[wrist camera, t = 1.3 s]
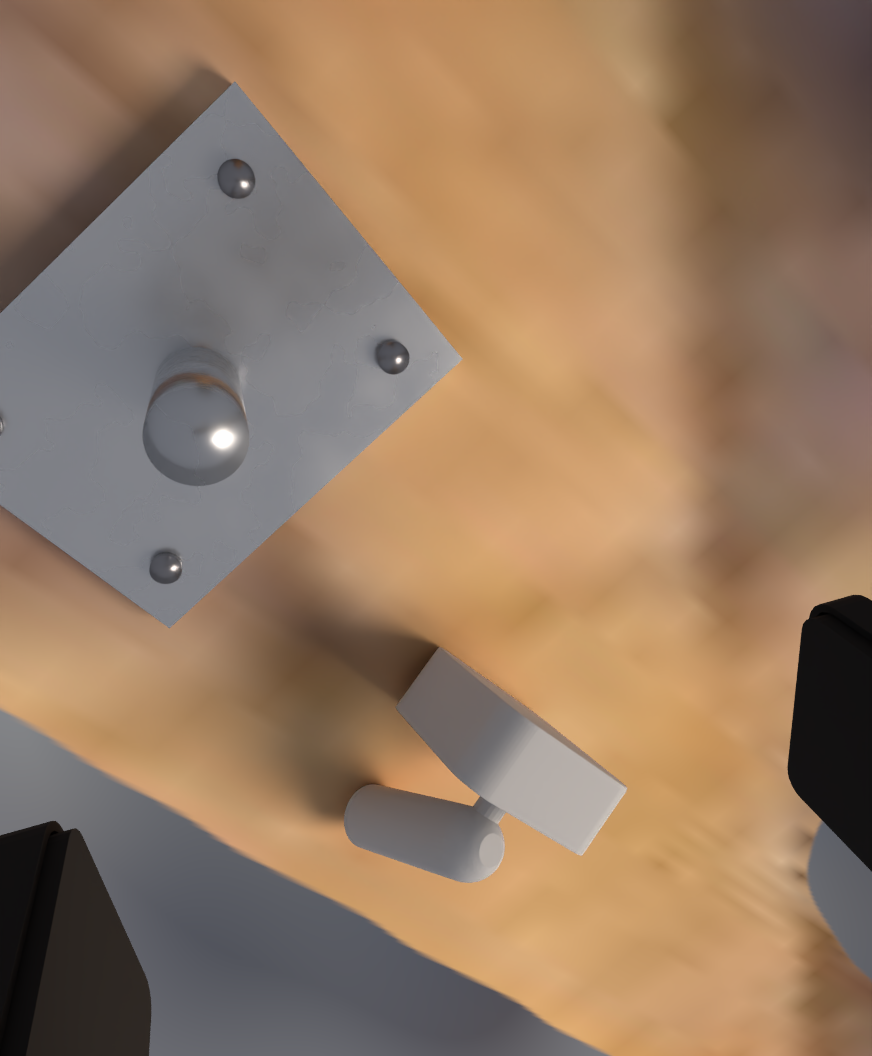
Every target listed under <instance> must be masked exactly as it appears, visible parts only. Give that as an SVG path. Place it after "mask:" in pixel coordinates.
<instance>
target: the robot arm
mask: <svg viewBox="0 0 872 1056" xmlns="http://www.w3.org/2000/svg"><path fill="white" fill-rule="evenodd" d="M788 775H789V779H790V782H791V784H792V786H793V788H794V790H795V791H796V793H797V794H798V795H799V796H800V798H801V799H802V800H803V801H804V802H805V803H806V804H807V805H808V806H809V807H810V808H811V809H812V810H813V811H814V812H815V813H816V814H817V815H818V816H819V817H820V818H821V819H822V820H823V821H824V822H825V823H826V825H827V826H828V827H829V828H830V829H831V830H832V831H833V832H834V833H835V834H836V835H837V836H838V837H839V838H840V839H841V840H842V841H843V842H844V843H845V844H846V845H847V846H848V847H849V848H850V849H851V850H852V852H853V853H854V854H855V855H856V856H857V857H858V858H859V859H860V860H861V861H862V862H863V863H864V864H865V865H866V866H867V867H868V868H869V869H870V870H871V871H872V601H871V600H870V599H868V598H866V597H864V596H861V595H851V596H848V597H844V598H841V599H837V600H834V601H830V602H827V603H823V604H820V605H817V606H815V607H814V608H813V610H812V611H811V613H810V617H809V619H808V620H806V621H805V622H804V624H803V627H802V633H801V643H800V652H799V662H798V672H797V681H796V691H795V701H794V710H793V720H792V730H791V739H790V749H789V759H788ZM150 1026H151V997H150V990H149V986H148V981H147V979H146V976H145V973H144V971H143V969H142V967H141V965H140V963H139V960H138V958H137V956H136V954H135V951H134V949H133V947H132V945H131V943H130V940H129V938H128V936H127V934H126V931H125V929H124V927H123V925H122V923H121V920H120V918H119V916H118V914H117V912H116V909H115V907H114V905H113V903H112V900H111V898H110V896H109V894H108V892H107V890H106V887H105V885H104V883H103V881H102V879H101V876H100V874H99V872H98V870H97V867H96V865H95V863H94V861H93V859H92V856H91V854H90V852H89V850H88V847H87V845H86V843H85V841H84V839H83V836H82V835H81V833H80V831H78V830H77V829H71V830H67V831H63V829H62V828H61V826H60V825H59V824H58V823H57V822H56V821H50V822H47V823H43V824H40V825H36V826H32V827H29V828H26V829H22V830H18V831H15V832H11V833H7V834H4V835H1V836H0V1056H149V1043H150Z"/></svg>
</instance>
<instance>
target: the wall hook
mask: <svg viewBox="0 0 872 1056" xmlns="http://www.w3.org/2000/svg"><path fill="white" fill-rule="evenodd" d="M396 709H397V711H398V712H399V713H400V714H401V715H402V716H403V717H404V719H405V720H406V721H407V722H408V723H409V724H410V725H411V726H412V728H413V729H414V730H415V731H416V732H417V733H418V734H419V736H420V737H421V738H422V739H423V740H424V741H425V742H426V744H427V745H428V746H429V747H430V748H431V749H432V750H433V752H434V753H435V754H436V755H437V756H438V757H439V758H440V759H441V761H442V762H443V763H444V764H445V765H446V766H447V767H448V769H449V770H450V771H451V772H452V773H453V774H454V775H455V776H456V777H457V778H458V779H460V780H461V781H462V782H463V783H464V784H465V785H467V786H468V787H469V788H470V789H472V790H473V791H474V792H476V793H477V794H478V795H480V797H479V799H478V800H477V802H476V803H475V804H474V806H473V807H472V806H468V805H465V804H461V803H456V802H452V801H447V800H443V799H439V798H434V797H430V796H425V795H421V794H417V793H412V792H408V791H403V790H399V789H394V788H390V787H386V786H381V785H377V784H369V785H366V786H363V787H362V788H360V789H359V790H357V791H356V792H355V793H354V794H353V796H352V797H351V799H350V800H349V802H348V804H347V807H346V810H345V815H344V826H345V831H346V834H347V836H348V838H349V839H350V841H351V842H352V843H353V844H354V845H356V846H358V847H360V848H363V849H366V850H369V851H371V852H374V853H377V854H380V855H383V856H386V857H389V858H392V859H394V860H397V861H400V862H403V863H406V864H409V865H412V866H415V867H417V868H420V869H423V870H426V871H429V872H432V873H435V874H438V875H441V876H443V877H447V878H450V879H453V880H456V881H459V882H466V883H472V882H478V881H481V880H483V879H485V878H487V877H489V876H490V875H491V874H492V873H493V872H494V871H495V870H496V869H497V868H498V867H499V865H500V863H501V861H502V859H503V856H504V850H505V844H504V837H503V834H502V831H501V829H500V827H499V825H498V823H499V821H500V820H501V819H502V817H503V816H504V814H505V813H506V812H507V813H509V814H510V815H512V816H514V817H515V818H517V819H519V820H520V821H522V822H524V823H525V824H527V825H529V826H530V827H532V828H534V829H535V830H537V831H539V832H541V833H542V834H544V835H546V836H547V837H549V838H551V839H552V840H554V841H556V842H557V843H559V844H561V845H562V846H564V847H566V848H567V849H569V850H571V851H572V852H574V853H576V854H578V855H581V856H582V855H583V853H584V852H585V850H586V849H587V848H588V846H589V845H590V843H591V842H592V840H593V839H594V837H595V836H596V834H597V833H598V832H599V830H600V829H601V827H602V826H603V824H604V823H605V821H606V820H607V818H608V817H609V815H610V814H611V813H612V811H613V810H614V808H615V807H616V805H617V804H618V802H619V801H620V799H621V798H622V797H623V795H624V794H625V792H626V790H627V787H626V786H625V785H624V784H623V783H622V782H621V781H619V780H618V779H617V778H616V777H614V776H613V775H612V774H611V773H609V772H608V771H607V770H606V769H604V768H603V767H602V766H601V765H599V764H598V763H597V762H596V761H595V760H593V759H592V758H591V757H590V756H588V755H587V754H586V753H585V752H583V751H582V750H581V749H580V748H578V747H577V746H576V745H575V744H573V743H572V742H571V741H570V740H568V739H567V738H566V737H565V736H563V735H562V734H561V733H560V732H558V731H557V730H556V729H555V728H553V727H552V726H551V725H550V724H548V723H547V722H546V721H545V720H543V719H542V718H541V717H539V716H538V715H537V714H535V713H534V712H533V711H531V710H530V709H529V708H527V707H526V706H524V705H523V704H522V703H520V702H519V701H517V700H516V699H515V698H513V697H512V696H510V695H509V694H507V693H506V692H505V691H503V690H502V689H500V688H499V687H498V686H496V685H495V684H493V683H492V682H490V681H489V680H488V679H486V678H485V677H483V676H482V675H480V674H479V673H478V672H476V671H475V670H473V669H472V668H471V667H469V666H468V665H466V664H465V663H463V662H462V661H461V660H459V659H458V658H456V657H455V656H454V655H452V654H451V653H449V652H448V651H446V650H445V649H443V648H441V647H439V648H438V649H437V650H436V652H435V653H434V654H433V656H432V657H431V658H430V660H429V661H428V663H427V664H426V665H425V667H424V668H423V669H422V671H421V672H420V674H419V675H418V676H417V678H416V679H415V681H414V682H413V683H412V685H411V686H410V687H409V689H408V690H407V692H406V693H405V694H404V696H403V697H402V699H401V700H400V701H399V703H398V704H397V705H396Z"/></svg>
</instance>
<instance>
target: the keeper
mask: <svg viewBox="0 0 872 1056" xmlns="http://www.w3.org/2000/svg"><path fill="white" fill-rule="evenodd" d="M461 360H462V358H461V356H460V355H459V354H458V353H457V352H456V350H455V349H454V348H453V347H452V346H451V344H450V343H449V342H448V341H447V339H446V338H445V337H444V336H443V335H442V333H441V332H440V331H439V330H438V328H437V327H436V326H435V325H434V324H433V322H432V321H431V320H430V319H429V317H428V316H427V315H426V314H425V313H424V311H423V310H422V309H421V308H420V307H419V305H418V304H417V303H416V302H415V300H414V299H413V298H412V297H411V296H410V294H409V293H408V292H407V291H406V289H405V288H404V287H403V286H402V285H401V283H400V282H399V281H398V280H397V278H396V277H395V276H394V275H393V274H392V272H391V271H390V270H389V269H388V267H387V266H386V265H385V264H384V263H383V261H382V260H381V259H380V258H379V257H378V255H377V254H376V253H375V252H374V250H373V249H372V248H371V247H370V246H369V244H368V243H367V242H366V241H365V239H364V238H363V237H362V236H361V235H360V233H359V232H358V231H357V230H356V228H355V227H354V226H353V225H352V224H351V222H350V221H349V220H348V219H347V218H346V216H345V215H344V214H343V213H342V211H341V210H340V209H339V208H338V207H337V205H336V204H335V203H334V202H333V200H332V199H331V198H330V197H329V196H328V194H327V193H326V192H325V191H324V189H323V188H322V187H321V186H320V185H319V183H318V182H317V181H316V180H315V178H314V177H313V176H312V175H311V174H310V172H309V171H308V170H307V169H306V168H305V166H304V165H303V164H302V163H301V161H300V160H299V159H298V158H297V157H296V155H295V154H294V153H293V152H292V150H291V149H290V148H289V147H288V146H287V144H286V143H285V142H284V141H283V139H282V138H281V137H280V136H279V135H278V133H277V132H276V131H275V130H274V129H273V127H272V126H271V125H270V124H269V122H268V121H267V120H266V119H265V118H264V116H263V115H262V114H261V113H260V111H259V110H258V109H257V108H256V107H255V105H254V104H253V103H252V102H251V100H250V99H249V98H248V97H247V96H246V94H245V93H244V92H243V91H242V90H241V88H240V87H239V86H238V85H237V83H236V82H234V83H233V84H232V85H231V86H230V87H229V88H228V89H227V90H226V91H225V92H224V93H223V94H222V95H221V96H220V97H219V98H218V99H217V100H216V101H215V102H214V103H213V104H212V105H211V106H210V107H209V108H208V109H207V110H206V111H204V112H203V113H202V114H201V115H200V116H199V117H198V118H197V119H196V120H195V121H194V122H193V123H192V124H191V125H190V126H189V127H188V128H187V129H186V130H185V131H184V132H183V133H182V134H181V135H180V136H179V137H178V138H177V139H176V140H175V141H174V142H173V143H172V144H171V145H170V146H169V147H168V148H167V149H166V150H165V151H164V152H163V153H162V154H161V155H160V156H159V157H158V158H157V159H156V160H155V161H154V162H153V163H152V164H151V165H150V166H149V167H148V168H147V169H146V170H145V171H144V172H143V173H142V174H141V175H140V176H139V177H138V178H137V179H136V180H135V181H134V182H133V183H132V184H131V185H130V186H129V187H128V188H127V189H126V190H125V191H124V192H123V193H122V194H121V195H120V196H119V197H118V198H117V199H115V200H114V201H113V202H112V203H111V204H110V205H109V206H108V207H107V208H106V209H105V210H104V211H103V212H102V213H101V214H100V215H99V216H98V217H97V218H96V219H95V220H94V221H93V222H92V223H91V224H90V225H89V226H88V227H87V228H86V229H85V230H84V231H83V232H82V233H81V234H80V235H79V236H78V237H77V238H76V239H75V240H74V241H73V242H72V243H71V244H70V245H69V246H68V247H67V248H66V249H65V250H64V251H63V252H62V253H61V254H60V255H59V256H58V257H57V258H56V259H55V260H54V261H53V262H52V263H51V264H50V265H49V266H48V267H47V268H46V269H45V270H44V271H43V272H42V273H41V274H40V275H39V276H38V277H37V278H36V279H35V280H34V281H33V282H32V283H31V284H30V285H29V286H28V287H26V288H25V289H24V290H23V291H22V292H21V293H20V294H19V295H18V296H17V297H16V298H15V299H14V300H13V301H12V302H11V303H10V304H9V305H8V306H7V307H6V308H5V309H4V310H3V311H2V312H1V313H0V505H1V506H3V507H4V508H5V509H7V510H8V511H10V512H11V513H12V514H14V515H15V516H16V517H18V518H19V519H21V520H22V521H23V522H25V523H26V524H27V525H29V526H30V527H31V528H33V529H34V530H36V531H37V532H38V533H40V534H41V535H42V536H44V537H45V538H47V539H48V540H49V541H51V542H52V543H53V544H55V545H56V546H58V547H59V548H60V549H62V550H63V551H64V552H66V553H67V554H68V555H70V556H71V557H73V558H74V559H75V560H77V561H78V562H79V563H81V564H82V565H84V566H85V567H86V568H88V569H89V570H90V571H92V572H93V573H94V574H96V575H97V576H99V577H100V578H101V579H103V580H104V581H105V582H107V583H108V584H110V585H111V586H112V587H114V588H115V589H116V590H118V591H119V592H120V593H122V594H123V595H125V596H126V597H127V598H129V599H130V600H131V601H133V602H134V603H136V604H137V605H138V606H140V607H141V608H142V609H144V610H145V611H147V612H148V613H149V614H151V615H152V616H153V617H155V618H156V619H157V620H159V621H160V622H162V623H163V624H164V625H166V626H167V627H168V628H170V627H171V626H172V625H174V624H175V623H176V622H177V621H178V620H179V619H180V618H181V617H182V616H183V615H184V614H186V613H187V612H188V611H189V610H190V609H191V608H192V607H193V606H194V605H195V604H196V603H198V602H199V601H200V600H201V599H202V598H203V597H204V596H205V595H206V594H207V593H208V592H210V591H211V590H212V589H213V588H214V587H215V586H216V585H217V584H218V583H219V582H220V581H221V580H223V579H224V578H225V577H226V576H227V575H228V574H229V573H230V572H231V571H232V570H233V569H235V568H236V567H237V566H238V565H239V564H240V563H241V562H242V561H243V560H244V559H245V558H247V557H248V556H249V555H250V554H251V553H252V552H253V551H254V550H255V549H256V548H257V547H259V546H260V545H261V544H262V543H263V542H264V541H265V540H266V539H267V538H268V537H269V536H270V535H272V534H273V533H274V532H275V531H276V530H277V529H278V528H279V527H280V526H281V525H282V524H284V523H285V522H286V521H287V520H288V519H289V518H290V517H291V516H292V515H293V514H294V513H296V512H297V511H298V510H299V509H300V508H301V507H302V506H303V505H304V504H305V503H306V502H308V501H309V500H310V499H311V498H312V497H313V496H314V495H315V494H316V493H317V492H318V491H319V490H321V489H322V488H323V487H324V486H325V485H326V484H327V483H328V482H329V481H330V480H331V479H333V478H334V477H335V476H336V475H337V474H338V473H339V472H340V471H341V470H342V469H343V468H345V467H346V466H347V465H348V464H349V463H350V462H351V461H352V460H353V459H354V458H355V457H357V456H358V455H359V454H360V453H361V452H362V451H363V450H364V449H365V448H366V447H367V446H368V445H370V444H371V443H372V442H373V441H374V440H375V439H376V438H377V437H378V436H379V435H380V434H382V433H383V432H384V431H385V430H386V429H387V428H388V427H389V426H390V425H391V424H392V423H394V422H395V421H396V420H397V419H398V418H399V417H400V416H401V415H402V414H403V413H404V412H406V411H407V410H408V409H409V408H410V407H411V406H412V405H413V404H414V403H415V402H416V401H417V400H419V399H420V398H421V397H422V396H423V395H424V394H425V393H426V392H427V391H428V390H429V389H431V388H432V387H433V386H434V385H435V384H436V383H437V382H438V381H439V380H440V379H441V378H443V377H444V376H445V375H446V374H447V373H448V372H449V371H450V370H451V369H452V368H453V367H455V366H456V365H457V364H458V363H459V362H460V361H461Z"/></svg>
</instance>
